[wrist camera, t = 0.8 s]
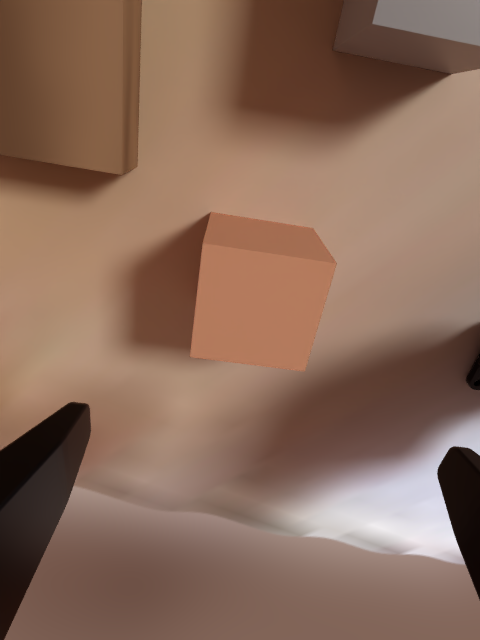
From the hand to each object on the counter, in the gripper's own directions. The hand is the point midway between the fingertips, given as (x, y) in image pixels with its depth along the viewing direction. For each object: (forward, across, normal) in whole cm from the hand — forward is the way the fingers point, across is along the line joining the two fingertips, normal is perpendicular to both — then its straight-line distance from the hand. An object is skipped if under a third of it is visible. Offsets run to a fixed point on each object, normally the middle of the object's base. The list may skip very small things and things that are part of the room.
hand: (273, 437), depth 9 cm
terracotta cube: (+12, 0, 0) cm, 12 cm away
